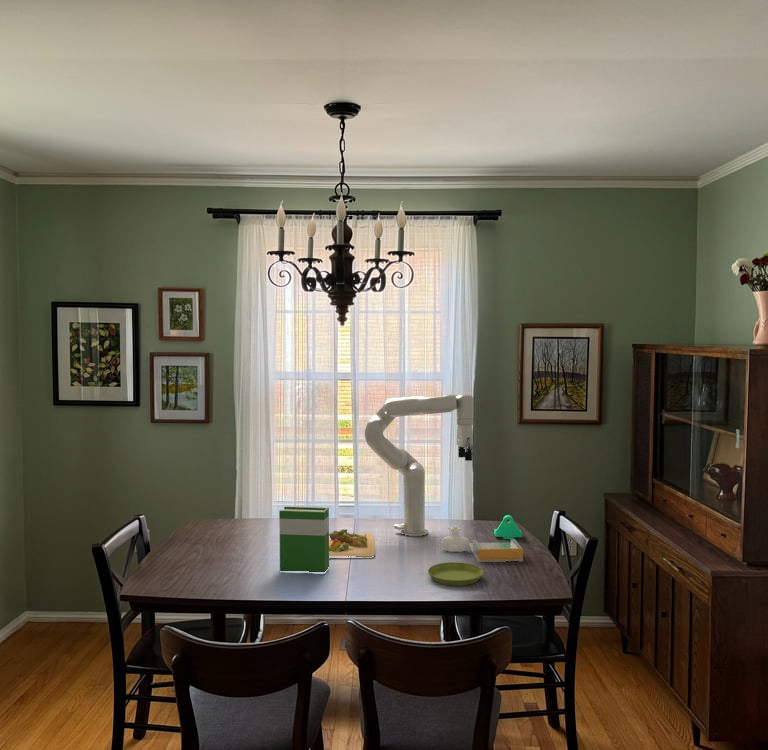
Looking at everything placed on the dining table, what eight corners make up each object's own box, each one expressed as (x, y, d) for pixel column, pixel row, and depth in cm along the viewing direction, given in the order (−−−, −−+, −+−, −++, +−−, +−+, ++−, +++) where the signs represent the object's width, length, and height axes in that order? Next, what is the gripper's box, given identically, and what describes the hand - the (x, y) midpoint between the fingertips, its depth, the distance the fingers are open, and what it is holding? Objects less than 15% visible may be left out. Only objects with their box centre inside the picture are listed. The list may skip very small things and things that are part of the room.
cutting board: (375, 560, 283) (375, 541, 283) (317, 560, 282) (317, 542, 282) (373, 536, 318) (373, 520, 318) (322, 537, 317) (322, 521, 317)
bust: (469, 555, 294) (468, 530, 300) (470, 548, 288) (469, 523, 294) (441, 555, 295) (440, 530, 301) (441, 548, 288) (441, 523, 295)
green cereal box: (279, 572, 265) (279, 510, 264) (285, 566, 273) (284, 506, 272) (324, 574, 263) (324, 512, 262) (329, 568, 270) (328, 507, 269)
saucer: (448, 566, 272) (448, 558, 272) (494, 577, 259) (494, 569, 259) (416, 580, 256) (416, 571, 256) (464, 592, 243) (464, 583, 243)
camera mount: (520, 535, 318) (520, 513, 318) (522, 539, 311) (522, 517, 310) (494, 534, 319) (494, 512, 319) (495, 539, 312) (495, 516, 311)
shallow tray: (478, 562, 277) (478, 549, 277) (468, 545, 301) (468, 533, 301) (523, 561, 278) (523, 549, 278) (509, 544, 302) (509, 533, 302)
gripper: (451, 420, 326) (451, 456, 326) (463, 424, 309) (463, 462, 309) (466, 419, 327) (466, 455, 328) (479, 423, 310) (479, 461, 311)
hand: (465, 458), depth 318 cm, fingers open, 9 cm apart
